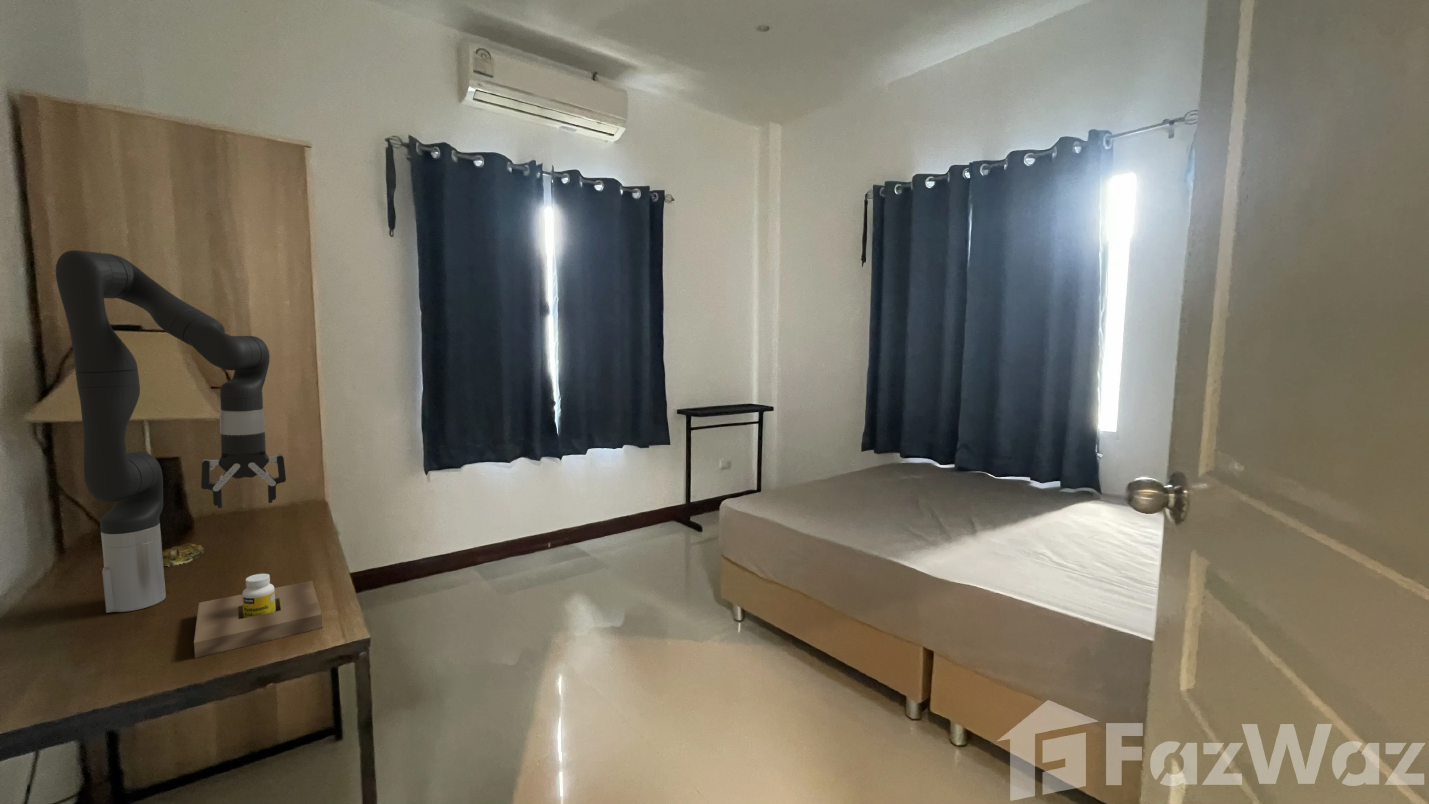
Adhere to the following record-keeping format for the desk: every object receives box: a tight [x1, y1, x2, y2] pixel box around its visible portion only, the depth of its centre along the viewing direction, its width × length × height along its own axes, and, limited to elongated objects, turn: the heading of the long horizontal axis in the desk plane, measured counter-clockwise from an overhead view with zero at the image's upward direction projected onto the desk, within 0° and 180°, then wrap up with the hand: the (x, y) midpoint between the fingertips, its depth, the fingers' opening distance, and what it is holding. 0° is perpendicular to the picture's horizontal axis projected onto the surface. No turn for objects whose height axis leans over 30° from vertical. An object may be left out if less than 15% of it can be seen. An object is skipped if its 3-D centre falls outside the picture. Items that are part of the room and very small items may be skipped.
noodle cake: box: [162, 543, 205, 568], centre depth 159 cm, size 9×5×15 cm
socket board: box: [193, 580, 323, 659], centre depth 127 cm, size 20×20×3 cm
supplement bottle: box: [242, 573, 276, 618], centre depth 126 cm, size 5×5×10 cm
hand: (245, 504), depth 131 cm, fingers open, 8 cm apart
